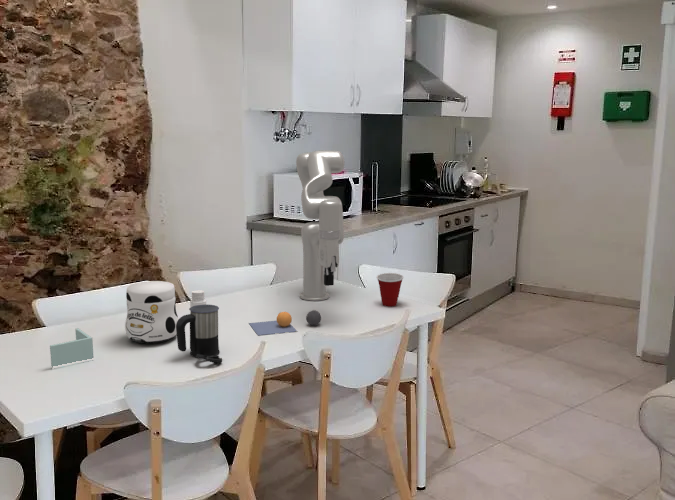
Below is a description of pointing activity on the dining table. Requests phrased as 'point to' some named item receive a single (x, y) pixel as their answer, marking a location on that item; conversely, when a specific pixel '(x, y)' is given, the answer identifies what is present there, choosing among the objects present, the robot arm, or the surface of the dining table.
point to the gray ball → (313, 317)
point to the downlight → (197, 298)
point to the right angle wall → (72, 350)
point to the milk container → (151, 312)
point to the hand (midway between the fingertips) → (328, 284)
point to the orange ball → (284, 319)
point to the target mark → (270, 328)
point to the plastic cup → (389, 288)
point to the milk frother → (200, 332)
